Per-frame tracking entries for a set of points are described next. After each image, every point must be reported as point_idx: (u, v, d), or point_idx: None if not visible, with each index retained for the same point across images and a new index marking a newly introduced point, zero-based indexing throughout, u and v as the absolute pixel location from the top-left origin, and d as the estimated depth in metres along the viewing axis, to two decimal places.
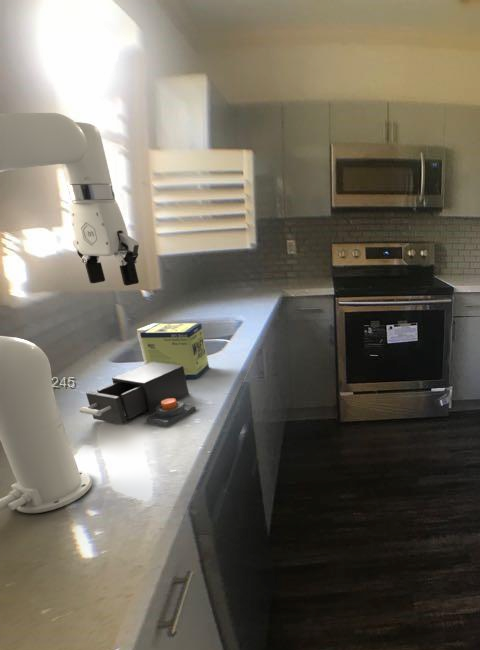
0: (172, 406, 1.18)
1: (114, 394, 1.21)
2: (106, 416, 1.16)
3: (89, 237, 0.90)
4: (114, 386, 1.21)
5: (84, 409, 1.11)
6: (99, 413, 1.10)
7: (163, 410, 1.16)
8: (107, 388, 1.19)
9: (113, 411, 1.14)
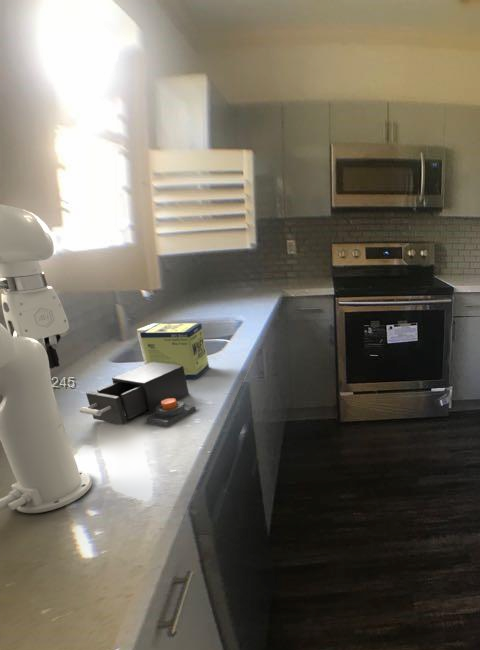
0: (172, 406, 1.18)
1: (114, 394, 1.21)
2: (106, 416, 1.16)
3: (43, 321, 0.96)
4: (114, 386, 1.21)
5: (84, 409, 1.11)
6: (99, 413, 1.10)
7: (163, 410, 1.16)
8: (107, 388, 1.19)
9: (113, 411, 1.14)
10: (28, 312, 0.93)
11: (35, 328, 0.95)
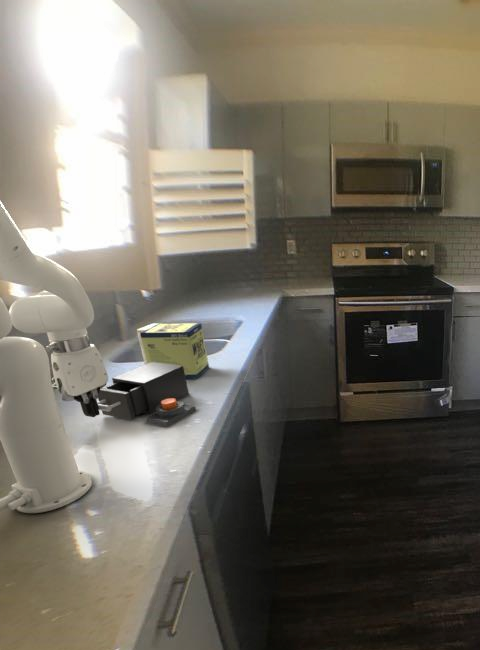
0: (172, 406, 1.18)
1: (123, 390, 1.23)
2: (115, 412, 1.18)
3: (87, 376, 1.07)
4: (123, 382, 1.23)
5: None
6: (109, 408, 1.13)
7: (163, 410, 1.16)
8: (116, 384, 1.21)
9: (122, 407, 1.16)
10: (75, 370, 1.04)
11: (80, 384, 1.06)
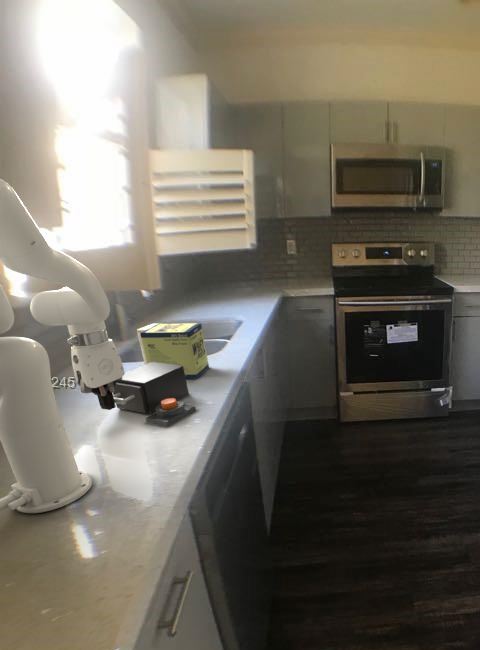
0: (172, 406, 1.18)
1: None
2: (129, 405, 1.22)
3: (105, 369, 1.11)
4: None
5: None
6: (124, 401, 1.16)
7: (163, 410, 1.16)
8: None
9: (136, 400, 1.20)
10: (94, 363, 1.08)
11: (99, 376, 1.10)
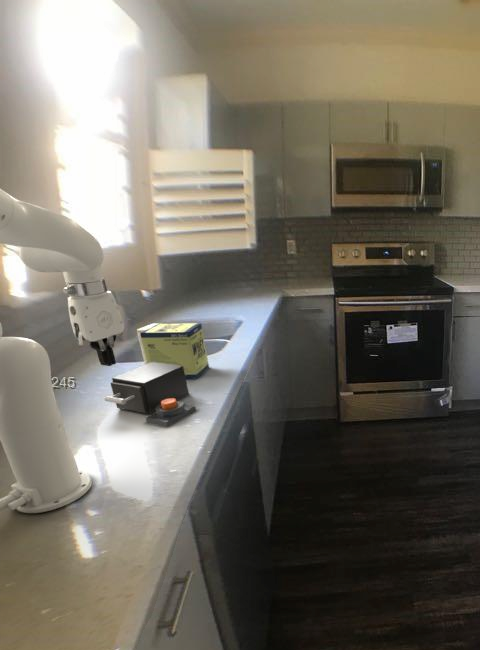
0: (172, 406, 1.18)
1: None
2: (129, 405, 1.22)
3: (104, 322, 1.06)
4: None
5: (109, 398, 1.17)
6: (124, 401, 1.16)
7: (163, 410, 1.16)
8: None
9: (136, 400, 1.20)
10: (92, 315, 1.03)
11: (98, 329, 1.04)
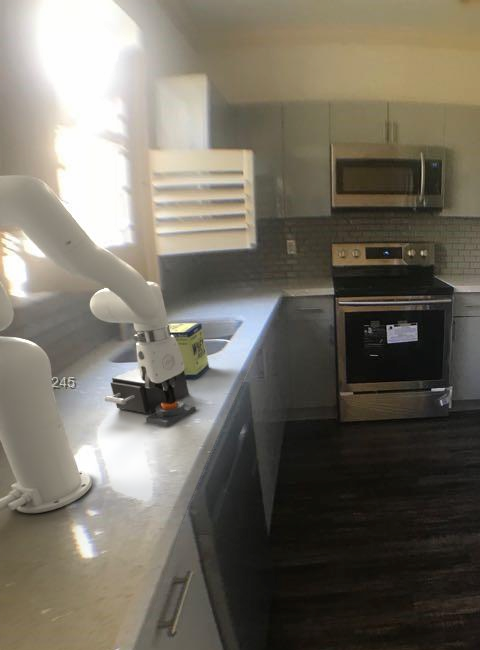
0: None
1: None
2: (129, 405, 1.22)
3: (167, 365, 1.13)
4: None
5: (109, 398, 1.17)
6: (124, 401, 1.16)
7: (163, 410, 1.16)
8: None
9: (136, 400, 1.20)
10: (158, 359, 1.10)
11: (162, 372, 1.12)
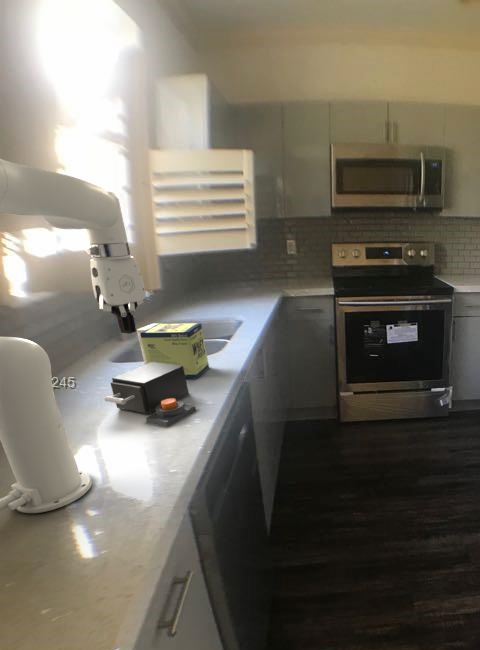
0: (172, 406, 1.18)
1: None
2: (129, 405, 1.22)
3: (125, 287, 1.03)
4: None
5: (109, 398, 1.17)
6: (124, 401, 1.16)
7: (163, 410, 1.16)
8: None
9: (136, 400, 1.20)
10: (114, 278, 1.00)
11: (119, 293, 1.01)
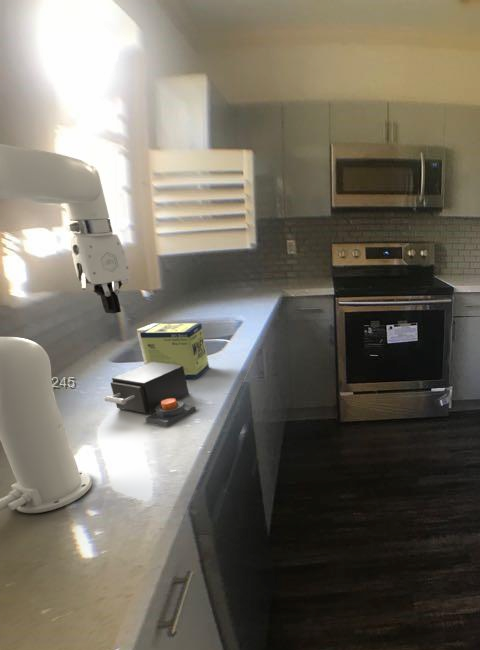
0: (172, 406, 1.18)
1: None
2: (129, 405, 1.22)
3: (108, 265, 1.00)
4: None
5: (109, 398, 1.17)
6: (124, 401, 1.16)
7: (163, 410, 1.16)
8: None
9: (136, 400, 1.20)
10: (96, 255, 0.97)
11: (102, 271, 0.99)
